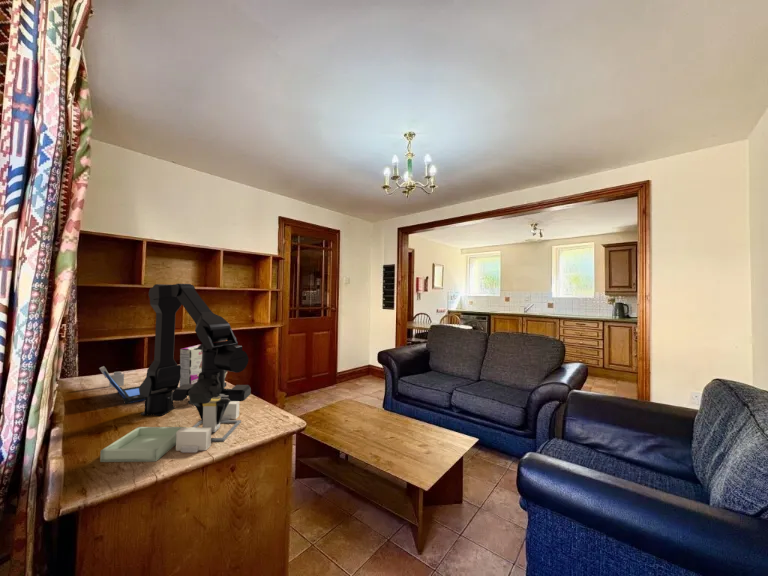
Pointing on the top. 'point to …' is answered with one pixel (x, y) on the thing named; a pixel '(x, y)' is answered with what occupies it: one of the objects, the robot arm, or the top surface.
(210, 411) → the yellow-capped grey block
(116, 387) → the handheld game console
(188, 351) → the candy bar box
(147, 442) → the tray
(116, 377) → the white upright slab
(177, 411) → the top surface
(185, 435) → the headphones
